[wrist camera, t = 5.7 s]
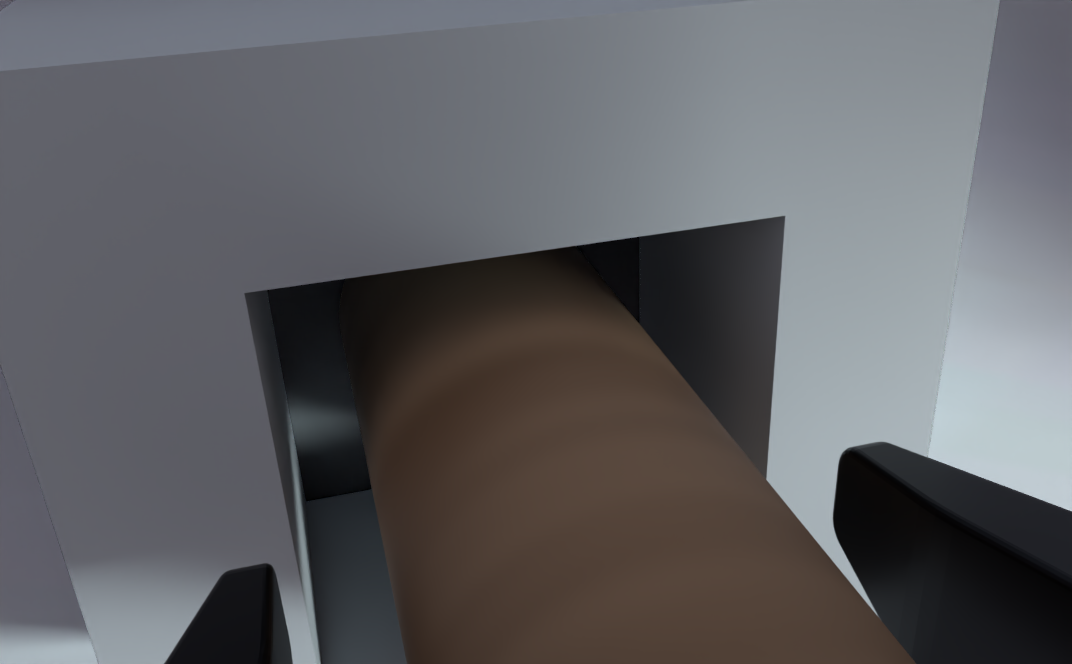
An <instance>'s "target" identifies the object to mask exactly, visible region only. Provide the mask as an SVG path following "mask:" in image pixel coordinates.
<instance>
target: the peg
mask: <svg viewBox="0 0 1072 664" xmlns="http://www.w3.org/2000/svg"><path fill="white" fill-rule="evenodd" d="M339 322H340V332H341V337H342V342H343V347H344V352H345V357H346V362H347V367H348V372H349V377H350V382H351V387H352V392H353V397H354V402H355V407H356V412H357V417H358V422H359V427H360V432H361V437H362V442H363V447H364V452H365V457H366V462H367V467H368V472H369V477H370V482H371V487H372V492H373V497H374V502H375V507H376V512H377V517H378V522H379V527H380V532H381V537H382V542H383V547H384V552H385V557H386V562H387V567H388V572H389V577H390V582H391V587H392V592H393V597H394V602H395V607H396V612H397V617H398V622H399V627H400V632H401V637H402V641H403V646H404V651H405V656H406V661H407V664H916V663H915V661H914V660H913V659H912V658H911V657H910V655H909V654H908V653H907V652H906V650H905V649H904V648H903V647H902V645H901V644H900V643H899V642H898V641H897V639H896V638H895V637H894V636H893V634H892V633H891V632H890V631H889V630H888V628H887V627H886V626H885V625H884V623H883V622H882V621H881V620H880V618H879V617H878V616H877V615H876V614H875V612H874V611H873V610H872V609H871V607H870V606H869V605H868V604H867V603H866V601H865V600H864V599H863V598H862V596H861V595H860V594H859V593H858V592H857V590H856V589H855V588H854V587H853V585H852V584H851V583H850V582H849V580H848V579H847V578H846V577H845V576H844V574H843V573H842V572H841V571H840V569H839V568H838V567H837V566H836V565H835V563H834V562H833V561H832V560H831V558H830V557H829V556H828V555H827V553H826V552H825V551H824V550H823V549H822V547H821V546H820V545H819V544H818V542H817V541H816V540H815V539H814V538H813V536H812V535H811V534H810V533H809V531H808V530H807V529H806V528H805V526H804V525H803V524H802V523H801V522H800V520H799V519H798V518H797V517H796V515H795V514H794V513H793V512H792V511H791V509H790V508H789V507H788V506H787V504H786V503H785V502H784V501H783V499H782V498H781V497H780V496H779V495H778V493H777V492H776V491H775V490H774V488H773V487H772V486H771V485H770V484H769V482H768V481H767V480H766V479H765V477H764V476H763V475H762V474H761V472H760V471H759V470H758V469H757V468H756V466H755V465H754V464H753V463H752V461H751V460H750V459H749V458H748V457H747V455H746V454H745V453H744V452H743V450H742V449H741V448H740V447H739V445H738V444H737V443H736V442H735V441H734V439H733V438H732V437H731V436H730V434H729V433H728V432H727V431H726V430H725V428H724V427H723V426H722V425H721V423H720V422H719V421H718V420H717V418H716V417H715V416H714V415H713V414H712V412H711V411H710V410H709V409H708V407H707V406H706V405H705V404H704V403H703V401H702V400H701V399H700V398H699V396H698V395H697V394H696V393H695V391H694V390H693V389H692V388H691V387H690V385H689V384H688V383H687V382H686V380H685V379H684V378H683V377H682V376H681V374H680V373H679V372H678V371H677V369H676V368H675V367H674V366H673V364H672V363H671V362H670V361H669V360H668V358H667V357H666V356H665V355H664V353H663V352H662V351H661V350H660V349H659V347H658V346H657V345H656V344H655V342H654V341H653V340H652V339H651V337H650V336H649V335H648V334H647V333H646V331H645V330H644V329H643V328H642V326H641V325H640V324H639V323H638V322H637V320H636V319H635V318H634V317H633V315H632V314H631V313H630V312H629V311H628V309H627V308H626V307H625V306H624V304H623V303H622V302H621V301H620V299H619V298H618V297H617V296H616V295H615V293H614V292H613V291H612V290H611V288H610V287H609V286H608V285H607V284H606V282H605V281H604V280H603V279H602V277H601V276H600V275H599V274H598V272H597V271H596V270H595V269H594V268H593V266H592V265H591V264H590V263H589V261H588V260H587V259H586V258H585V257H584V255H583V254H582V253H581V252H580V250H579V249H578V248H577V247H576V246H570V247H563V248H556V249H549V250H542V251H535V252H528V253H521V254H514V255H507V256H500V257H493V258H486V259H479V260H473V261H466V262H459V263H452V264H445V265H438V266H431V267H424V268H417V269H410V270H403V271H396V272H389V273H382V274H375V275H368V276H361V277H354V278H347V279H345V281H344V284H343V288H342V293H341V298H340V308H339Z"/></svg>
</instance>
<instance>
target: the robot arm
mask: <svg viewBox="0 0 1072 664" xmlns="http://www.w3.org/2000/svg"><path fill="white" fill-rule="evenodd" d="M833 527H834V531H835V534H836V537H837V540H838V542H839V544H840V546H841V548H842V550H843V552H844V554H845V555H846V557H847V559H848V561H849V563H850V565H851V567H852V569H853V570H854V572H855V574H856V576H857V578H858V580H859V582H860V584H861V585H862V587H863V589H864V591H865V593H866V595H867V597H868V598H869V600H870V602H871V604H872V606H873V608H874V610H875V612H876V613H877V615H878V617H879V618H880V620H881V621H882V622H883V623H884V625H885V626H886V627H887V628H888V630H889V631H890V632H891V633H892V634H893V636H894V637H895V638H896V639H897V641H898V642H899V643H900V644H901V645H902V647H903V648H904V649H905V650H906V652H907V653H908V654H909V655H910V657H911V658H912V659H913V660H914V661H915V663H916V664H1072V511H1069V510H1066V509H1064V508H1061V507H1058V506H1056V505H1053V504H1050V503H1048V502H1045V501H1042V500H1040V499H1037V498H1034V497H1032V496H1029V495H1026V494H1024V493H1021V492H1018V491H1016V490H1013V489H1010V488H1008V487H1005V486H1002V485H1000V484H997V483H994V482H992V481H989V480H986V479H984V478H981V477H979V476H976V475H973V474H971V473H968V472H965V471H963V470H960V469H957V468H955V467H952V466H949V465H947V464H944V463H941V462H939V461H936V460H933V459H931V458H928V457H925V456H923V455H920V454H917V453H915V452H912V451H909V450H907V449H904V448H901V447H899V446H896V445H893V444H891V443H888V442H873V443H868V444H863V445H858V446H853V447H849V448H847V449H846V450H844V451H843V453H842V454H841V456H840V458H839V463H838V471H837V480H836V489H835V498H834V507H833ZM164 664H293V660H292V652H291V645H290V639H289V634H288V629H287V624H286V619H285V615H284V610H283V605H282V600H281V595H280V591H279V586H278V581H277V577H276V573H275V570H274V568H273V566H272V565H271V564H268V563H262V564H257V565H252V566H247V567H242V568H237V569H231V570H229V571H226V572H225V573H223V574H222V575H221V576H220V578H219V579H218V581H217V582H216V584H215V585H214V587H213V589H212V590H211V592H210V593H209V595H208V596H207V598H206V599H205V601H204V603H203V604H202V606H201V607H200V609H199V610H198V612H197V613H196V615H195V616H194V618H193V620H192V621H191V623H190V624H189V626H188V627H187V629H186V630H185V632H184V634H183V635H182V637H181V638H180V640H179V641H178V643H177V644H176V646H175V647H174V649H173V651H172V652H171V654H170V655H169V657H168V658H167V660H166V661H165V663H164Z"/></svg>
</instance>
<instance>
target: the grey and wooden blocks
mask: <svg viewBox="0 0 1072 664" xmlns="http://www.w3.org/2000/svg"><path fill="white" fill-rule="evenodd" d="M999 4H1000V0H15V1H13V2H12V3H10V4H9V5H8V6H6V7H5V8H4V9H2V10H1V11H0V366H1V369H2V372H3V375H4V378H5V381H6V384H7V387H8V390H9V393H10V396H11V399H12V402H13V405H14V408H15V411H16V414H17V417H18V420H19V423H20V426H21V430H22V433H23V436H24V439H25V442H26V445H27V448H28V451H29V454H30V457H31V460H32V463H33V466H34V469H35V472H36V475H37V478H38V481H39V484H40V487H41V490H42V493H43V496H44V500H45V503H46V506H47V509H48V512H49V515H50V518H51V521H52V524H53V527H54V530H55V533H56V536H57V539H58V542H59V545H60V548H61V551H62V554H63V557H64V560H65V563H66V566H67V569H68V573H69V576H70V579H71V582H72V585H73V588H74V591H75V594H76V597H77V600H78V603H79V606H80V609H81V612H82V615H83V618H84V621H85V624H86V627H87V630H88V633H89V636H90V639H91V643H92V646H93V649H94V652H95V655H96V658H97V661H98V664H164V663H165V661H166V660H167V658H168V657H169V655H170V654H171V652H172V651H173V649H174V647H175V646H176V644H177V643H178V641H179V640H180V638H181V637H182V635H183V634H184V632H185V630H186V629H187V627H188V626H189V624H190V623H191V621H192V620H193V618H194V616H195V615H196V613H197V612H198V610H199V609H200V607H201V606H202V604H203V603H204V601H205V599H206V598H207V596H208V595H209V593H210V592H211V590H212V589H213V587H214V585H215V584H216V582H217V581H218V579H219V578H220V576H221V575H222V574H223V573H225V572H226V571H229V570H231V569H237V568H242V567H247V566H252V565H257V564H262V563H268V564H271V565H272V566H273V568H274V570H275V573H276V577H277V581H278V586H279V591H280V595H281V600H282V605H283V610H284V615H285V619H286V624H287V629H288V634H289V639H290V645H291V652H292V660H293V664H407V661H406V656H405V651H404V646H403V641H402V637H401V632H400V627H399V622H398V617H397V612H396V607H395V602H394V597H393V592H392V587H391V582H390V577H389V572H388V567H387V562H386V557H385V552H384V547H383V542H382V537H381V532H380V527H379V522H378V517H377V512H376V507H375V502H374V497H373V492H372V489H371V490H365V491H360V492H355V493H349V494H344V495H339V496H333V497H328V498H323V499H317V500H312V501H307V502H306V500H305V494H304V489H303V484H302V478H301V473H300V467H299V462H298V456H297V451H296V445H295V440H294V435H293V429H292V424H291V418H290V413H289V407H288V402H287V396H286V391H285V386H284V380H283V375H282V369H281V364H280V358H279V353H278V347H277V342H276V337H275V331H274V326H273V320H272V315H271V309H270V304H269V298H268V293H267V290H270V289H277V288H284V287H291V286H298V285H305V284H312V283H319V282H326V281H333V280H340V279H347V278H354V277H361V276H368V275H375V274H382V273H389V272H396V271H403V270H410V269H417V268H424V267H431V266H438V265H445V264H452V263H459V262H466V261H473V260H479V259H486V258H493V257H500V256H507V255H514V254H521V253H528V252H535V251H542V250H549V249H556V248H563V247H570V246H577V245H584V244H591V243H598V242H605V241H612V240H619V239H626V238H633V237H640V318H639V324H640V325H641V326H642V328H643V329H644V330H645V331H646V333H647V334H648V335H649V336H650V337H651V339H652V340H653V341H654V342H655V344H656V345H657V346H658V347H659V349H660V350H661V351H662V352H663V353H664V355H665V356H666V357H667V358H668V360H669V361H670V362H671V363H672V364H673V366H674V367H675V368H676V369H677V371H678V372H679V373H680V374H681V376H682V377H683V378H684V379H685V380H686V382H687V383H688V384H689V385H690V387H691V388H692V389H693V390H694V391H695V393H696V394H697V395H698V396H699V398H700V399H701V400H702V401H703V403H704V404H705V405H706V406H707V407H708V409H709V410H710V411H711V412H712V414H713V415H714V416H715V417H716V418H717V420H718V421H719V422H720V423H721V425H722V426H723V427H724V428H725V430H726V431H727V432H728V433H729V434H730V436H731V437H732V438H733V439H734V441H735V442H736V443H737V444H738V445H739V447H740V448H741V449H742V450H743V452H744V453H745V454H746V455H747V457H748V458H749V459H750V460H751V461H752V463H753V464H754V465H755V466H756V468H757V469H758V470H759V471H760V472H761V474H762V475H763V476H764V477H765V479H766V480H767V481H768V482H769V484H770V485H771V486H772V487H773V488H774V490H775V491H776V492H777V493H778V495H779V496H780V497H781V498H782V499H783V501H784V502H785V503H786V504H787V506H788V507H789V508H790V509H791V511H792V512H793V513H794V514H795V515H796V517H797V518H798V519H799V520H800V522H801V523H802V524H803V525H804V526H805V528H806V529H807V530H808V531H809V533H810V534H811V535H812V536H813V538H814V539H815V540H816V541H817V542H818V544H819V545H820V546H821V547H822V549H823V550H824V551H825V552H826V553H827V555H828V556H829V557H830V558H831V560H832V561H833V562H834V563H835V565H836V566H837V567H838V568H839V569H840V571H841V572H842V573H843V574H844V576H845V577H846V578H847V579H848V580H849V582H850V583H851V584H852V585H853V587H854V588H855V589H856V590H857V592H858V593H859V594H860V595H861V596H862V598H863V599H864V600H865V601H866V603H867V604H868V605H869V606H870V607H871V609H872V610H873V611H874V612H875V610H874V608H873V606H872V604H871V602H870V600H869V598H868V597H867V595H866V593H865V591H864V589H863V587H862V585H861V584H860V582H859V580H858V578H857V576H856V574H855V572H854V570H853V569H852V567H851V565H850V563H849V561H848V559H847V557H846V555H845V554H844V552H843V550H842V548H841V546H840V544H839V542H838V540H837V537H836V534H835V531H834V527H833V507H834V498H835V489H836V480H837V471H838V463H839V458H840V456H841V454H842V453H843V451H844V450H846V449H847V448H849V447H853V446H858V445H863V444H868V443H873V442H888V443H891V444H893V445H896V446H899V447H901V448H904V449H907V450H909V451H912V452H915V453H917V454H920V455H923V456H925V457H928V452H929V445H930V439H931V433H932V427H933V420H934V414H935V408H936V401H937V395H938V389H939V382H940V376H941V370H942V364H943V357H944V351H945V345H946V338H947V332H948V326H949V319H950V313H951V307H952V301H953V294H954V288H955V282H956V275H957V269H958V263H959V256H960V250H961V244H962V238H963V231H964V225H965V219H966V212H967V206H968V200H969V193H970V187H971V181H972V175H973V168H974V162H975V156H976V149H977V143H978V137H979V130H980V124H981V118H982V111H983V105H984V99H985V93H986V86H987V80H988V74H989V67H990V61H991V55H992V48H993V42H994V36H995V30H996V23H997V17H998V11H999ZM875 614H876V615H877V613H876V612H875ZM877 616H878V615H877Z"/></svg>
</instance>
